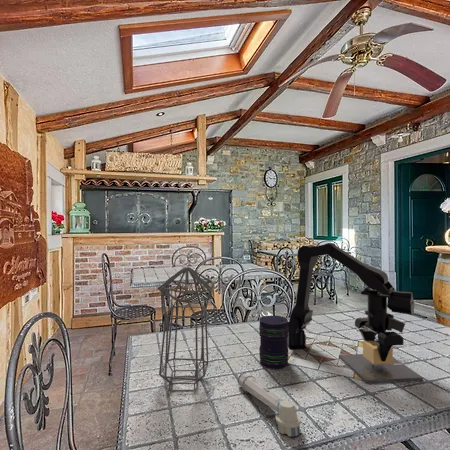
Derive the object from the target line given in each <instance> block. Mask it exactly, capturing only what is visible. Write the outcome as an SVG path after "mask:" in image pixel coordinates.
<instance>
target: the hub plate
mask: <svg viewBox="0 0 450 450" xmlns="http://www.w3.org/2000/svg"><path fill="white" fill-rule="evenodd" d="M338 359H339V360H341V361H342V362H343V363H344V364H345V365H346V366H347V367H348V368H349V369H350V370H351V371H352V372H353V373H354V374H355V375H357V376H358V378H360V379H361V380H362V381H363V382H364V384H383V383H384V384H385V383H402V382H403V383H404V382H405V383H406V382H422V381H424V377H423V376H422V375H420V374H419V373H418V372H416V371H414V370H413V369H412V368H410V367H408V365H405V364H404V363H402V361H400V360H398V359H397V358H395V357H394V356H393V364H372V363H371V362H370V361H369V360H367V359H366V358H365V357H364V356H363V353H353V354H338Z"/></svg>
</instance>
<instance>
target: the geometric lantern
mask: <svg viewBox="0 0 450 450" xmlns="http://www.w3.org/2000/svg"><path fill="white" fill-rule="evenodd" d="M189 275H190V276H191V278H192V279H193V282H192V281H190V282H189V280H190V279H189V277H190V276H189ZM179 276H180V278H179V280H176V279H177V278H178V277H179ZM184 277H185V278H184ZM183 279H185V280H184V281H183ZM172 283H173V284H175V285H176V288H175V289H174V288H169V286H170V285H171V284H172ZM181 284H183V285H184V287H183V286H182V285H181ZM209 284H210V285H209ZM189 285H195V289H194V290H189ZM198 285H199V286H200V288H198ZM213 287H214V281H213V280H211V279H209V278H208V277H205V276H204V275H202V274H201V273H199V272H198V271H196V270H195V269H193V268H192V267H191V266H184V267H183V268H181V269H180V270H179V271H177V272H176V273H174V274H173V275H172V276H170V277H169V278H168V279H167V280H165V282H164V283H163V284H161V285H159V286H158V287H157V288H156V290H158V291H159V292H160V293H161V295H162V301H163V313H164V323H163V332H162V333H163V334H162V341H161V350H160V351H161V352H160V358H159V359H160V361H159V362H160V363H159V372H158V376H159V377H160V378H161V379H163V380H164V381H166V382H167V383H168V388H167V390H168V391H170V392H195V391H196V390H198V389H199V388H198V387H199V382H200V381H201V380H202V379H203V378H205V377H206V373H207V369H208V365H209V346H208V343H209V342H208V339H209V338H208V322H207V321H208V318H207V316H208V315H207V308H208V304H209V301H210V298H211V296H212V291H213ZM179 288H180V289H182V290H178V289H179ZM169 291H170V292H174V296H173V295H172V294H171V293H170V292H169ZM177 293H179V294H181V293H182V294H183V295H182V296H181V298H180V299H178V297H177ZM204 293H208V294H207V297H206V298H205V300H204V302H203V304H202V302H201V300H200V298H199V296H200V295H202V294H204ZM187 294H195V295H193V296H191V297H189V298H187ZM165 297H167V298H168V300H169V302H170V304H171V306H170V307H169V308H168V309H166V299H165ZM195 298H197V299H198V302H199V303H200V305H201V306H197V305H196V306H193V305H191V304H190V302H189V301H191V300H192V299H195ZM171 299H173V300H174V301H175V302H174V304H173V302H172V300H171ZM185 302H186V303H187V305H180V304H181V303H185ZM176 303H177V305H176ZM175 308H176V315H174V309H175ZM179 308H189V309H190V310H191V312H192V314H193V315H194V316H191V315H179ZM193 308H195V309H196V308H197V309H199V308H200V309H201V312H200V315H197V313H196V312H195V311H194V309H193ZM169 314H170V315H169ZM173 318H175V329H174V330H175V331H174V333H175V334H174V345H173V346H174V349H173V358H169V357H170V349H171V337H172V329H173V328H172V327H173V326H172V325H173ZM179 318H190V319H195V358H186V357H185V358H183V357H181V358H180V357H176V356H177V355H176V352H177V351H176V349H177V341H178V340H177V336H178V325H179V324H178V321H179ZM198 318H200V320H201V321H200V323H201V326H200V327H201V342H200V343H201V346H200V347H201V352H200V358H198V353H199V352H198V346H199V345H198ZM169 322H170V323H169ZM204 328H205V339H204ZM204 340H205V341H204ZM164 347H165V353H164ZM205 349H206V350H205ZM205 351H206V354H205ZM164 354H165V358H164V357H163V356H164ZM205 356H206V360H205ZM163 358H164V365H163ZM171 361H172V362H173V369H172V367H171V364H170V362H171ZM175 361H192V362H193V361H194V362H195V369H176V363H175ZM201 363H202V366H201V368H200V365H201ZM167 366H168V367H169V369H170V371H171V373H170V376H168V373H167V372H168V371H167V369H168V367H167ZM199 368H200V369H199ZM200 371H202V375H201V376H200V375H199V373H200ZM163 372H164V374H162V373H163ZM177 372H194V375H176V374H177ZM172 380H186V381H194V382H177V381H176V382H175V381H174V382H172ZM173 385H193V389H174V388H173V387H174V386H173Z"/></svg>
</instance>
